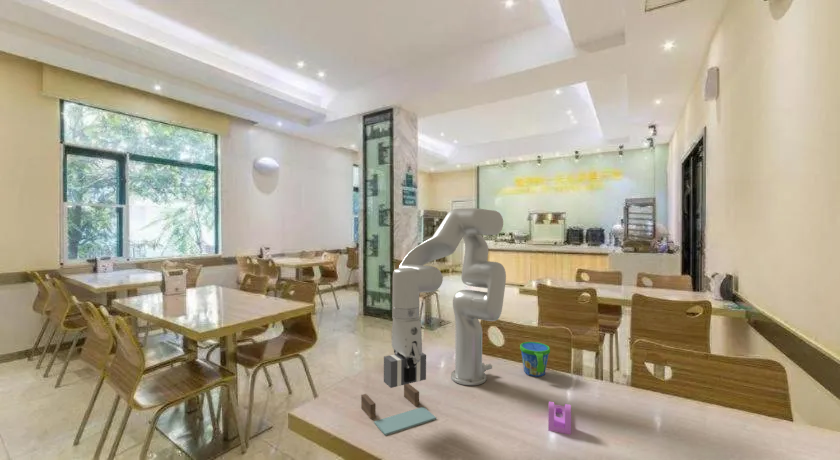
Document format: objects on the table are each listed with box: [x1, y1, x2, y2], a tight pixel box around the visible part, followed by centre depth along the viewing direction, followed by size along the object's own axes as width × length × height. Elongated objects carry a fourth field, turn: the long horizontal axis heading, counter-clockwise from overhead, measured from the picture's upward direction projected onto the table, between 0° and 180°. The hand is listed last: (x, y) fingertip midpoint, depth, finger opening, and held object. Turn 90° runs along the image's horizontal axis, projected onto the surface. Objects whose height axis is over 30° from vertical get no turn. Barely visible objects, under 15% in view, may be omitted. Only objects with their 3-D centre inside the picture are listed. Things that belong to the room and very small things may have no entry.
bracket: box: [547, 401, 572, 435], centre depth 104 cm, size 13×6×7 cm, turn 160°
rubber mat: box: [373, 406, 437, 436], centre depth 103 cm, size 16×7×1 cm, turn 121°
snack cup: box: [519, 341, 551, 378], centre depth 136 cm, size 16×10×10 cm
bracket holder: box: [360, 383, 420, 420], centre depth 111 cm, size 16×7×4 cm, turn 121°
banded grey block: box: [383, 352, 427, 389], centre depth 102 cm, size 11×4×7 cm, turn 121°
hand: (405, 377), depth 102 cm, fingers closed on banded grey block, 4 cm apart
